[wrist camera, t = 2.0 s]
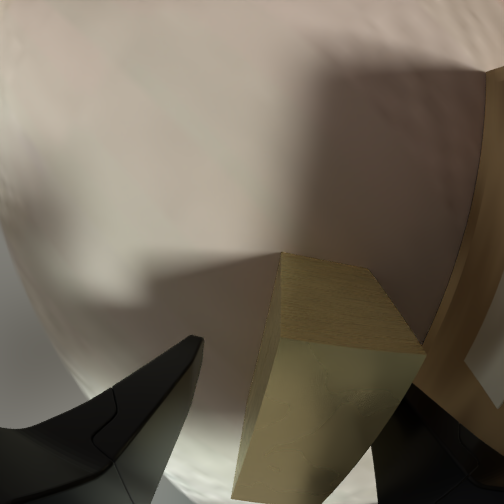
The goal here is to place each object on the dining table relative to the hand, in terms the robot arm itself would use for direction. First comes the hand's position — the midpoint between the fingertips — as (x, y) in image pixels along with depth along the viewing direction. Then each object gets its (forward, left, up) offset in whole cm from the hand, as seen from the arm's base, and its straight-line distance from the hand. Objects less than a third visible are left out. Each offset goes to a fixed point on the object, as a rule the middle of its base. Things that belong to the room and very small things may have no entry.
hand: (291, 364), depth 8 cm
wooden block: (-1, -1, -2) cm, 2 cm away
